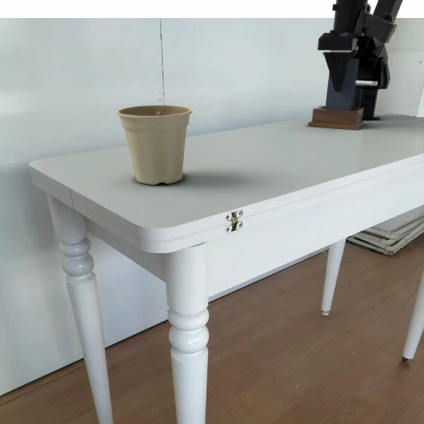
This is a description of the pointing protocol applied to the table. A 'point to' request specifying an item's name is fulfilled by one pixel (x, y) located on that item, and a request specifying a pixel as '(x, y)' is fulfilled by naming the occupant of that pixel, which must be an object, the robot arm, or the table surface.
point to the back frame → (337, 118)
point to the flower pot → (156, 141)
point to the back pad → (343, 89)
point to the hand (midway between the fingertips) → (340, 90)
